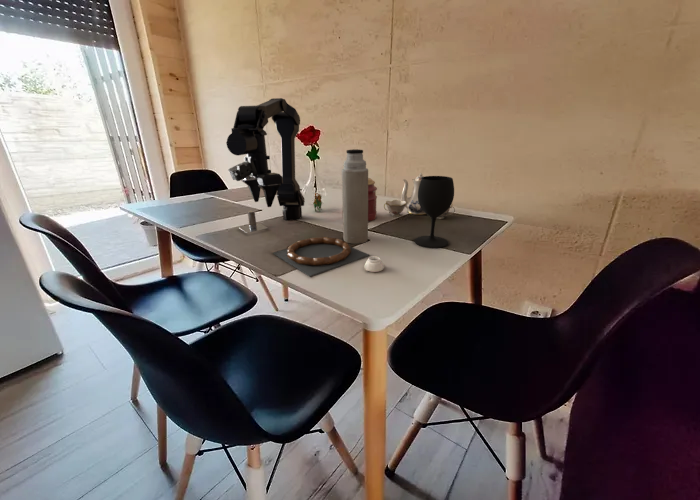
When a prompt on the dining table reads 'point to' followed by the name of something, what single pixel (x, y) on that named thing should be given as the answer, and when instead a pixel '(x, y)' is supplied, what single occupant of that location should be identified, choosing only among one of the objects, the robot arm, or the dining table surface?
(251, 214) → the metal peg stand
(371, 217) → the kitchen canister
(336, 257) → the ring
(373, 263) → the white jar
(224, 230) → the dining table surface
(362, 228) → the thermos bottle
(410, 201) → the chinaware
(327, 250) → the mat
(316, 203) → the figurine
